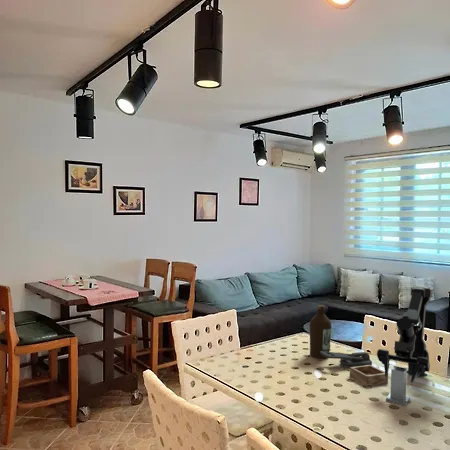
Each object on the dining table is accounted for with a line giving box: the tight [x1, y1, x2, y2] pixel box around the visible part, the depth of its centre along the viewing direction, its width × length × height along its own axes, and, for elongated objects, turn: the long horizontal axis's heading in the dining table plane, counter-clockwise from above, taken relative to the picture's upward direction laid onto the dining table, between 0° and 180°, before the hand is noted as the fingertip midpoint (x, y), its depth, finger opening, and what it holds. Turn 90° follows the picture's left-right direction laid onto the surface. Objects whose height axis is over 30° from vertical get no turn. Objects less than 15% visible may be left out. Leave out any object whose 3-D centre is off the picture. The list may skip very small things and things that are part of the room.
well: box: [349, 364, 389, 386], centre depth 180 cm, size 11×11×4 cm
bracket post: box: [385, 365, 411, 406], centre depth 160 cm, size 7×7×12 cm
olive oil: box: [309, 304, 332, 360], centre depth 210 cm, size 11×11×25 cm
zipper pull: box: [320, 351, 373, 369], centre depth 197 cm, size 9×7×25 cm
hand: (398, 379), depth 160 cm, fingers open, 9 cm apart
